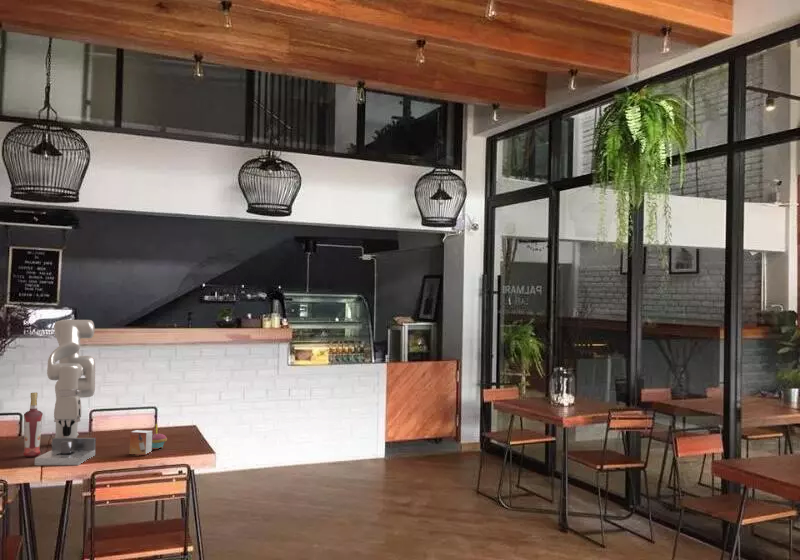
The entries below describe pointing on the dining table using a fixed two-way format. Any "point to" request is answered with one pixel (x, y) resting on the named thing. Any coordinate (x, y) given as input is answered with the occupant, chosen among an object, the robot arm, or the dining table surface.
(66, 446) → the bushing
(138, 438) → the small box
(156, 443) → the cupcake
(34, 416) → the liquor
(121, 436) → the dining table surface
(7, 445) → the dining table surface
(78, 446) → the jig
